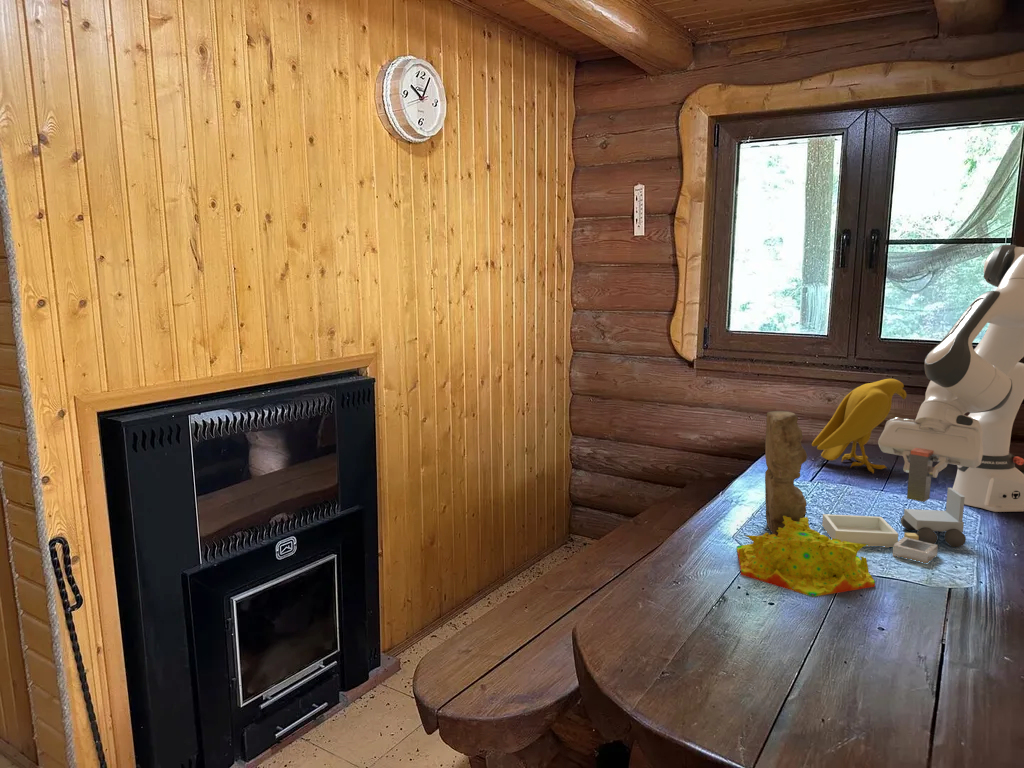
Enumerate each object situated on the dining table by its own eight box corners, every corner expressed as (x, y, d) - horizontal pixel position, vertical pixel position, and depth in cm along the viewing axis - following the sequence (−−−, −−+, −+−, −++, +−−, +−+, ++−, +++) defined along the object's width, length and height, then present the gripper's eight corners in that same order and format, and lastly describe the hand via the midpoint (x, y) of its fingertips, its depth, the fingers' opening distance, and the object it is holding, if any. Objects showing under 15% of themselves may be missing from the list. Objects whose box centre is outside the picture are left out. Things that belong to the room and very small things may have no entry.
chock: (914, 542, 165) (915, 533, 165) (917, 546, 163) (918, 536, 163) (903, 542, 166) (904, 532, 165) (906, 545, 164) (907, 535, 163)
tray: (880, 529, 173) (881, 516, 173) (897, 547, 162) (898, 533, 162) (822, 527, 176) (822, 514, 175) (834, 544, 165) (835, 530, 164)
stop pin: (912, 494, 158) (916, 447, 157) (929, 498, 156) (933, 450, 154) (906, 498, 156) (910, 450, 154) (924, 502, 153) (928, 453, 152)
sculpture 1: (808, 542, 166) (815, 418, 161) (767, 540, 168) (773, 417, 163) (798, 524, 178) (804, 408, 173) (760, 522, 180) (765, 407, 175)
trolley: (943, 530, 173) (947, 485, 171) (965, 548, 162) (969, 499, 160) (900, 528, 174) (903, 483, 173) (918, 545, 163) (922, 497, 162)
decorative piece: (745, 555, 141) (735, 507, 169) (743, 592, 142) (734, 538, 171) (887, 567, 134) (852, 514, 163) (884, 605, 136) (850, 546, 164)
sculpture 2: (908, 478, 221) (926, 385, 216) (824, 470, 221) (840, 377, 216) (876, 461, 241) (892, 375, 236) (799, 454, 241) (813, 368, 236)
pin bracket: (903, 547, 163) (903, 536, 162) (936, 555, 158) (937, 545, 157) (892, 555, 158) (893, 545, 157) (926, 564, 153) (927, 553, 152)
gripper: (885, 408, 165) (866, 456, 160) (987, 422, 150) (970, 475, 145) (891, 424, 169) (872, 471, 164) (991, 438, 154) (974, 491, 149)
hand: (919, 473), depth 155 cm, fingers closed on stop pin, 3 cm apart
